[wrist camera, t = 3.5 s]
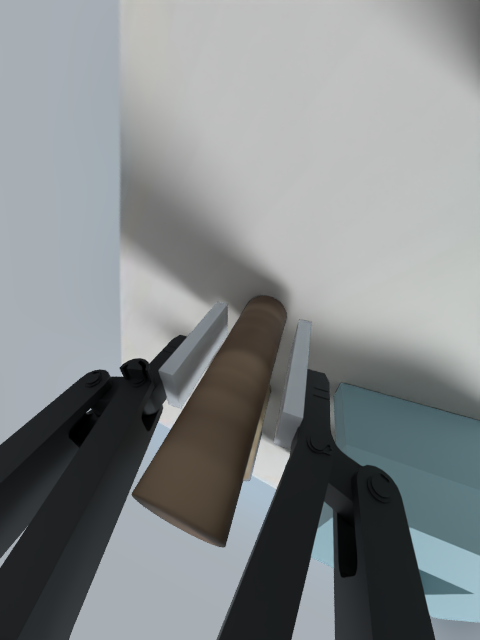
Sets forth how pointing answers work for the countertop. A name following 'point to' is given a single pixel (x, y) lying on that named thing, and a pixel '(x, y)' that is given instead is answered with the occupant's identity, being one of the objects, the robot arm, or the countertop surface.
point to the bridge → (420, 489)
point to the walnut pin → (216, 430)
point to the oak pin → (257, 435)
